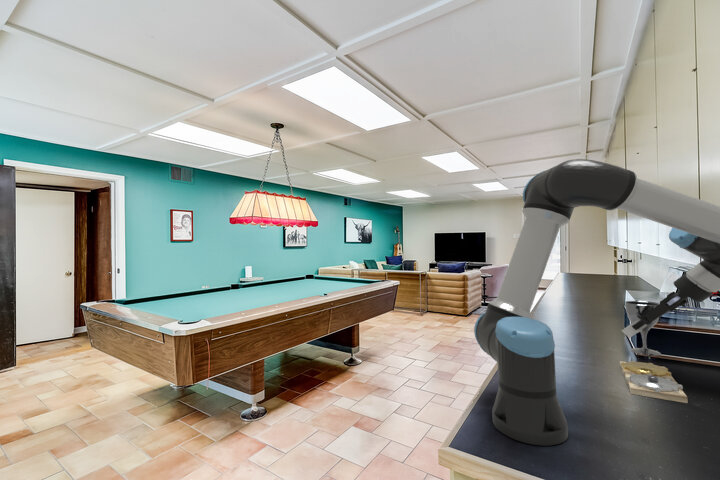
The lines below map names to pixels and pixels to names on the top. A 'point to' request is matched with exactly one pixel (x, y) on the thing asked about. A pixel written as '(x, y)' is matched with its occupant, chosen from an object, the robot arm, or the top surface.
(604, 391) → the top surface
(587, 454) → the top surface
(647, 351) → the wine glass
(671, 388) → the gear board
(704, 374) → the top surface
